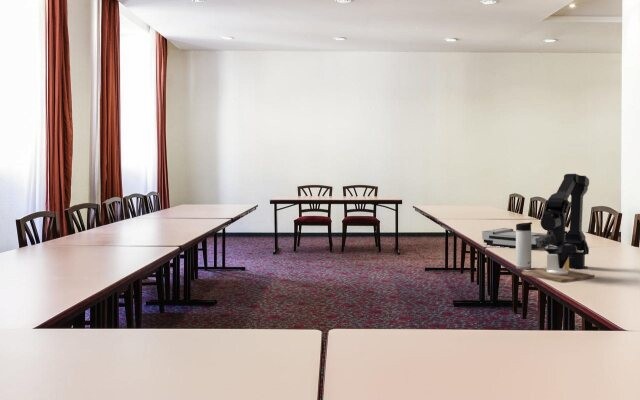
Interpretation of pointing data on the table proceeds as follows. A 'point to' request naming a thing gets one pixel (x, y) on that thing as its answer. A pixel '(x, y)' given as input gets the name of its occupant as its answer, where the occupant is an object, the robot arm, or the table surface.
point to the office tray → (506, 237)
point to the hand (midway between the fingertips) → (557, 267)
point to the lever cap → (556, 265)
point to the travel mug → (523, 246)
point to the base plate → (558, 278)
